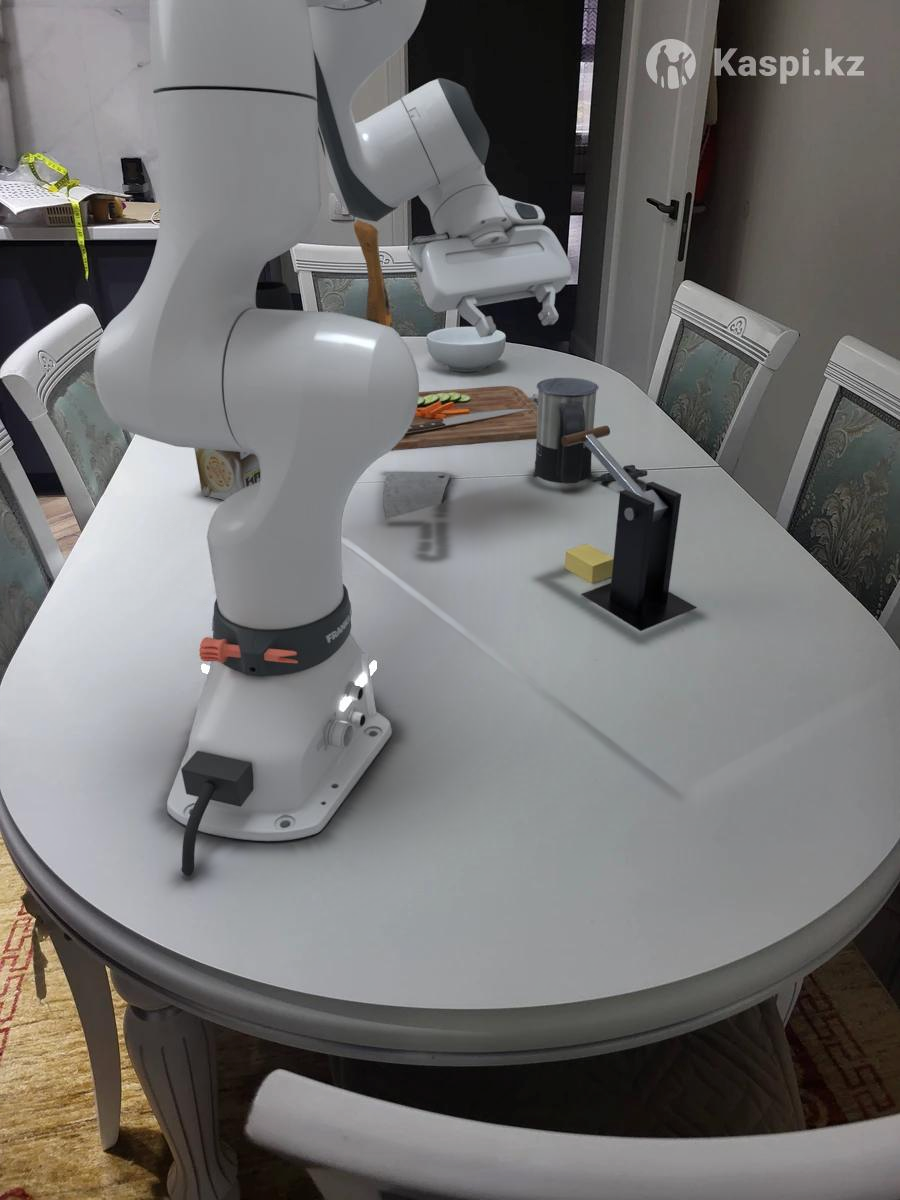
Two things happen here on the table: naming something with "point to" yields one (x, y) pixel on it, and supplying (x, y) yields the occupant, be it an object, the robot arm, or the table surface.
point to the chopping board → (471, 417)
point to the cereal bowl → (465, 348)
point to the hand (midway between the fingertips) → (520, 328)
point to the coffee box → (226, 471)
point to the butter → (589, 563)
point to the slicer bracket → (643, 562)
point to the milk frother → (567, 431)
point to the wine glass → (273, 296)
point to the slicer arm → (614, 465)
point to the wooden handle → (373, 275)
